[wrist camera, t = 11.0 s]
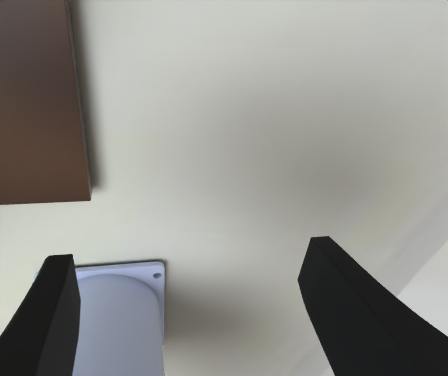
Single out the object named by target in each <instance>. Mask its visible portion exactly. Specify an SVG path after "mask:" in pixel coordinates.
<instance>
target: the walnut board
mask: <svg viewBox="0 0 448 376" xmlns="http://www.w3.org/2000/svg"><path fill="white" fill-rule="evenodd" d="M91 194H92V182H91V174H90V166H89V158H88V149H87V141H86V133H85V125H84V117H83V109H82V100H81V92H80V84H79V76H78V68H77V59H76V51H75V43H74V35H73V27H72V19H71V10H70V2H69V0H0V205H9V204H31V203H53V202H75V201H91Z"/></svg>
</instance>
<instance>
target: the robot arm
mask: <svg viewBox="0 0 448 376" xmlns="http://www.w3.org/2000/svg"><path fill="white" fill-rule="evenodd" d="M155 273H159V274H155ZM298 283H299V287H300V290H301V294H302V298H303V301H304V304H305V307H306V310H307V313H308V315H309V317H310V320H311V322H312V324H313V327H314V329H315V331H316V334H317V336H318V338H319V340H320V343H321V345H322V347H323V349H324V352H325V354H326V356H327V359H328V361H329V363H330V365H331V368H332V370H333V372H334V375H335V376H448V337H447V336H446V335H445V334H443V333H442V332H441V331H439V330H438V329H436V328H435V327H433V326H432V325H431V324H429V323H428V322H427V321H425V320H424V319H423V318H421V317H420V316H419V315H417V314H416V313H415V312H413V311H412V310H411V309H410V308H408V307H407V306H406V305H405V304H404V303H402V302H401V301H400V300H398V298H396V297H395V296H394V295H393V294H392V293H390V292H389V291H388V290H387V289H386V288H385V287H383V286H382V285H381V284H380V283H379V282H378V281H377V280H376V279H374V278H373V277H372V276H371V275H370V274H369V273H368V272H367V271H366V270H365V269H364V268H362V267H361V266H360V265H359V264H358V263H357V262H356V261H355V260H354V259H353V258H352V257H351V256H350V255H349V254H348V253H346V252H345V251H344V250H343V249H342V248H341V247H340V246H339V245H338V244H337V243H336V242H335V241H334V240H332V239H331V238H330V237H329V236H323V237H311V239H310V242H309V246H308V249H307V252H306V255H305V258H304V261H303V264H302V267H301V271H300V274H299V277H298ZM164 289H165V267H164V264H163V263H162V262H158V261H156V262H143V263H131V264H119V265H106V266H94V267H81V268H75V265H74V260H73V255H72V254H66V255H52V256H48V257H47V258H46V259H45V261H44V263H43V265H42V267H41V269H40V271H39V272H37V273H36V274H35V278H34V282H33V284H32V286H31V288H30V289H29V291H28V293H27V295H26V296H25V298H24V300H23V301H22V303H21V305H20V306H19V308H18V309H17V311H16V313H15V314H14V316H13V317H12V319H11V321H10V322H9V324H8V325H7V327H6V328H5V330H4V331H3V333H2V334H1V336H0V376H165V372H164V360H163V348H162V346H163V344H164Z"/></svg>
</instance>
